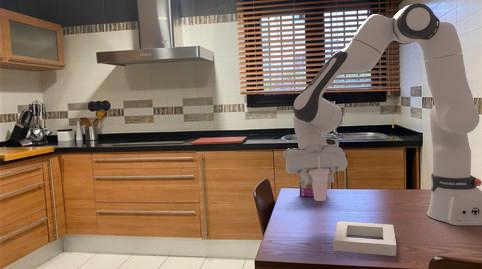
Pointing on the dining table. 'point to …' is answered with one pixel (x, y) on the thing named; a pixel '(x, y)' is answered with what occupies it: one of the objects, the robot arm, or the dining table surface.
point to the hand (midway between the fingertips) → (320, 182)
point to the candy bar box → (305, 187)
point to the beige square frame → (362, 244)
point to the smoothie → (319, 182)
